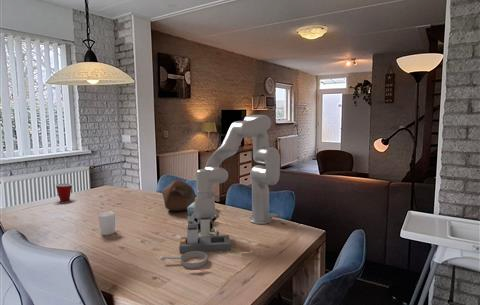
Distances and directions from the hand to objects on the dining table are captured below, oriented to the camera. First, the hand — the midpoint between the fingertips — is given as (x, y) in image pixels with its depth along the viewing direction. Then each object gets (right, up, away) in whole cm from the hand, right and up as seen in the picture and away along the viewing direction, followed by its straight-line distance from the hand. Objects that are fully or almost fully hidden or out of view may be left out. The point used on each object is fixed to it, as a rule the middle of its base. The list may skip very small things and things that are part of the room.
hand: (205, 230), depth 153 cm
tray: (0, -3, 0) cm, 3 cm away
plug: (0, -3, 0) cm, 3 cm away
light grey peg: (-4, -4, -14) cm, 15 cm away
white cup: (-51, -3, +7) cm, 52 cm away
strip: (+1, -5, -13) cm, 14 cm away
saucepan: (-5, -7, -28) cm, 29 cm away
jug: (-17, +2, +44) cm, 47 cm away
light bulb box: (-7, -1, +20) cm, 21 cm away
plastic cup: (-108, +4, +69) cm, 128 cm away
